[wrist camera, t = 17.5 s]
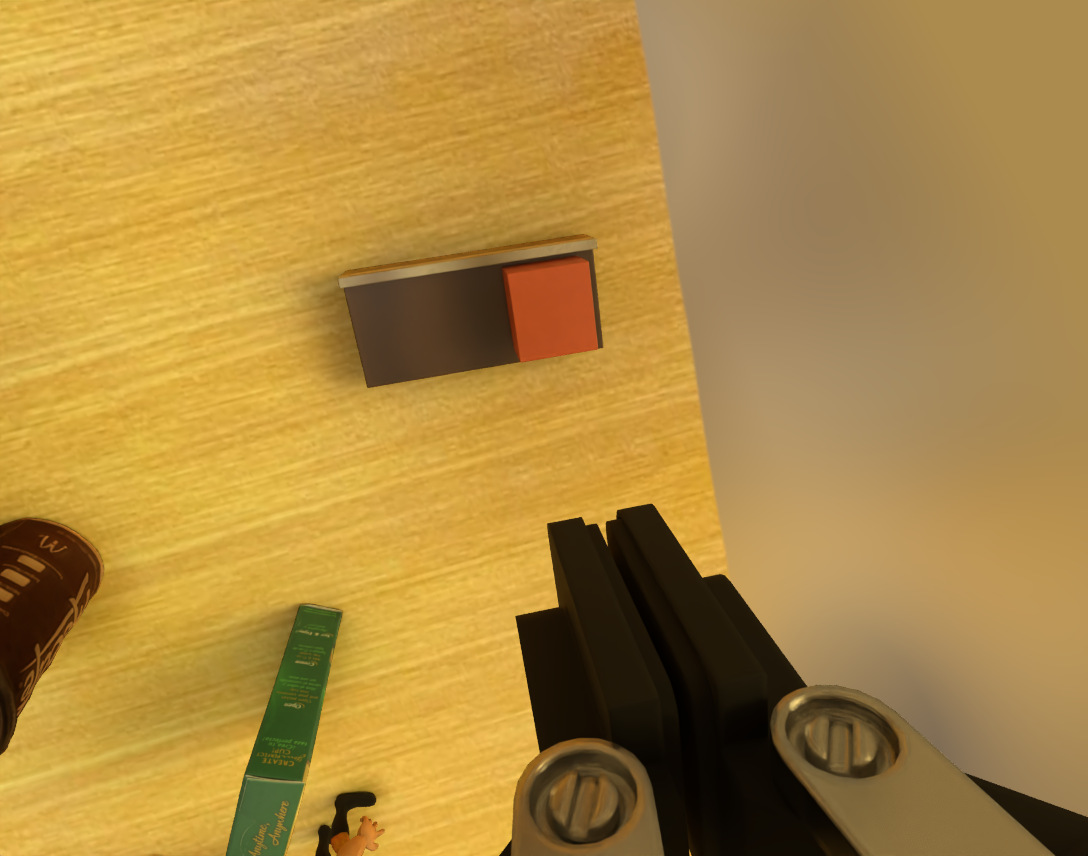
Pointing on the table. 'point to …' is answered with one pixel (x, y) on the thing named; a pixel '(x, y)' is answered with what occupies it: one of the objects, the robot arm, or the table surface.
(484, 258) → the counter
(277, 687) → the coffee box
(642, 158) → the table surface
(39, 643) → the coffee cup
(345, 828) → the action figure
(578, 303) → the red cube block
